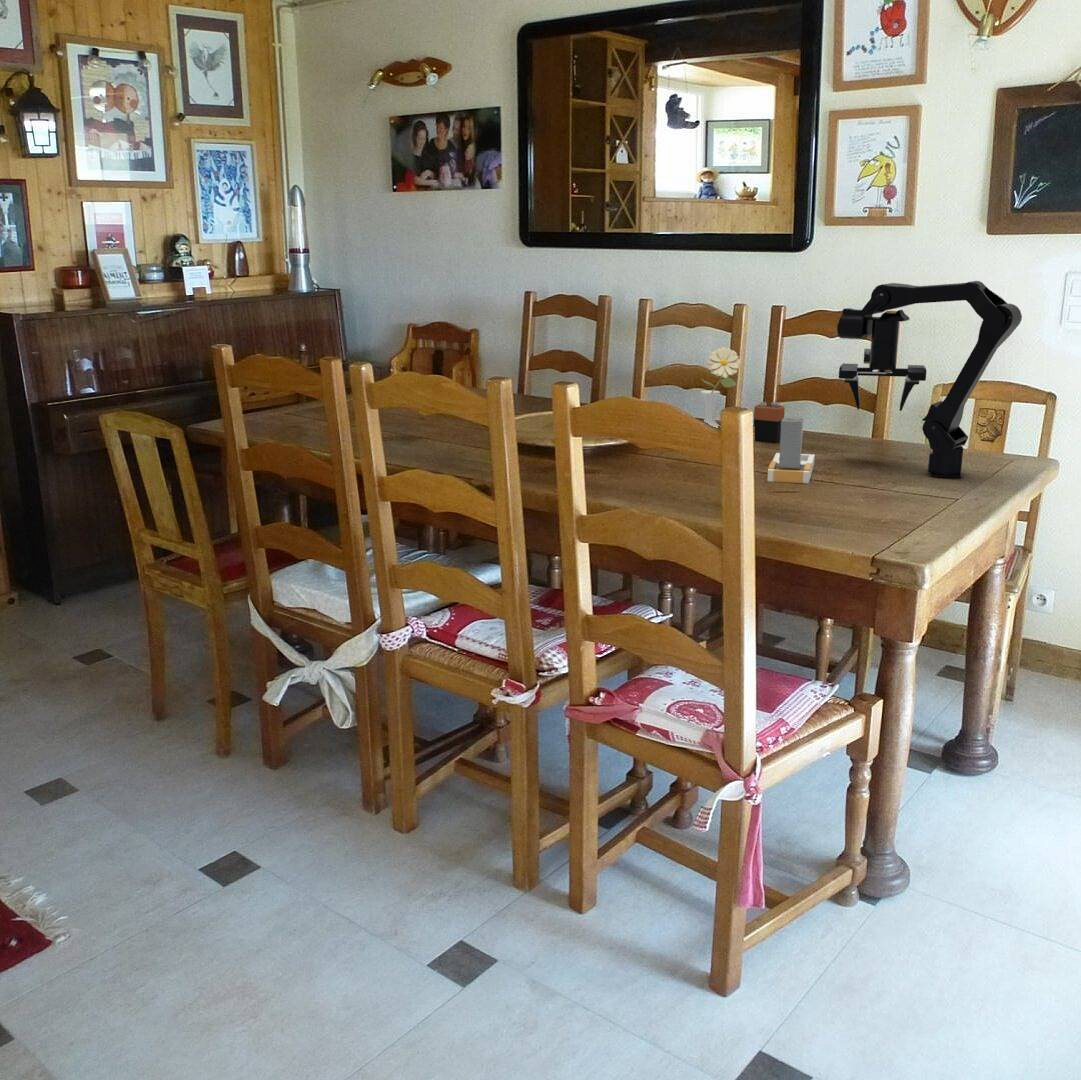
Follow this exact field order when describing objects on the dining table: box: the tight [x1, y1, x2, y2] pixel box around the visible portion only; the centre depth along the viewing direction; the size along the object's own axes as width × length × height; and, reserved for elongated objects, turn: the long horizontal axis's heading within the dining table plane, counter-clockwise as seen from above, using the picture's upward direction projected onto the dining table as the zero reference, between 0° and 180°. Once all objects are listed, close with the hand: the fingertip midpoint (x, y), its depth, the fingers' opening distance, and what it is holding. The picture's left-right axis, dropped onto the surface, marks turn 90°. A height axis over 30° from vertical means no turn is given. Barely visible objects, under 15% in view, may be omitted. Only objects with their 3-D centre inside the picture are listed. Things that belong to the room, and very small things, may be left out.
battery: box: [753, 401, 786, 444], centre depth 277 cm, size 4×7×10 cm, turn 53°
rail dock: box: [766, 452, 816, 484], centre depth 242 cm, size 9×19×3 cm, turn 163°
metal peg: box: [779, 417, 804, 471], centre depth 236 cm, size 4×4×13 cm
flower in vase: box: [700, 346, 741, 428], centre depth 269 cm, size 13×11×25 cm
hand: (879, 409), depth 245 cm, fingers open, 9 cm apart
